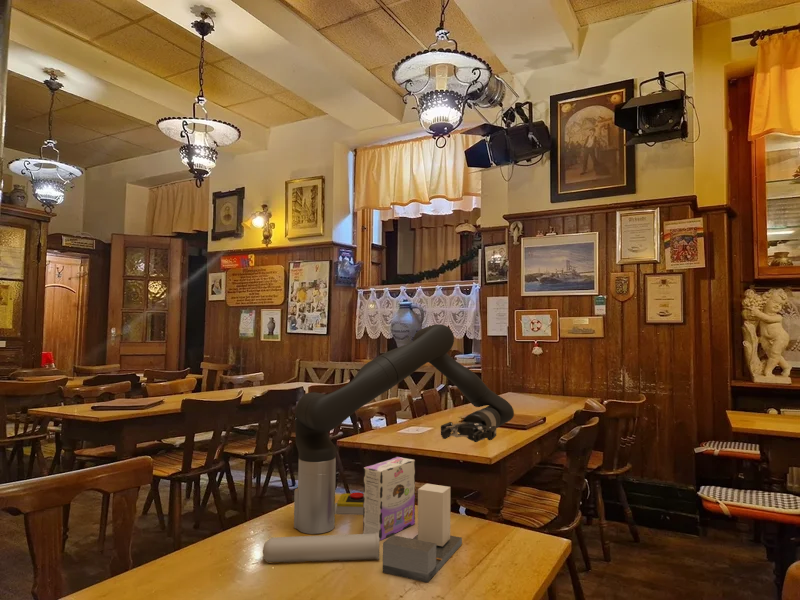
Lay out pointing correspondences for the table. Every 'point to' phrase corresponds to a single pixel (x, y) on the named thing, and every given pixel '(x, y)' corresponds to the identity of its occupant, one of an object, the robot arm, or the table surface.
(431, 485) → the block
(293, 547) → the tube
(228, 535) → the table surface
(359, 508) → the emergency button
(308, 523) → the robot arm
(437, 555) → the grey base block
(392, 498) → the candy box
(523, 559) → the table surface
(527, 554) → the table surface
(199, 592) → the table surface
